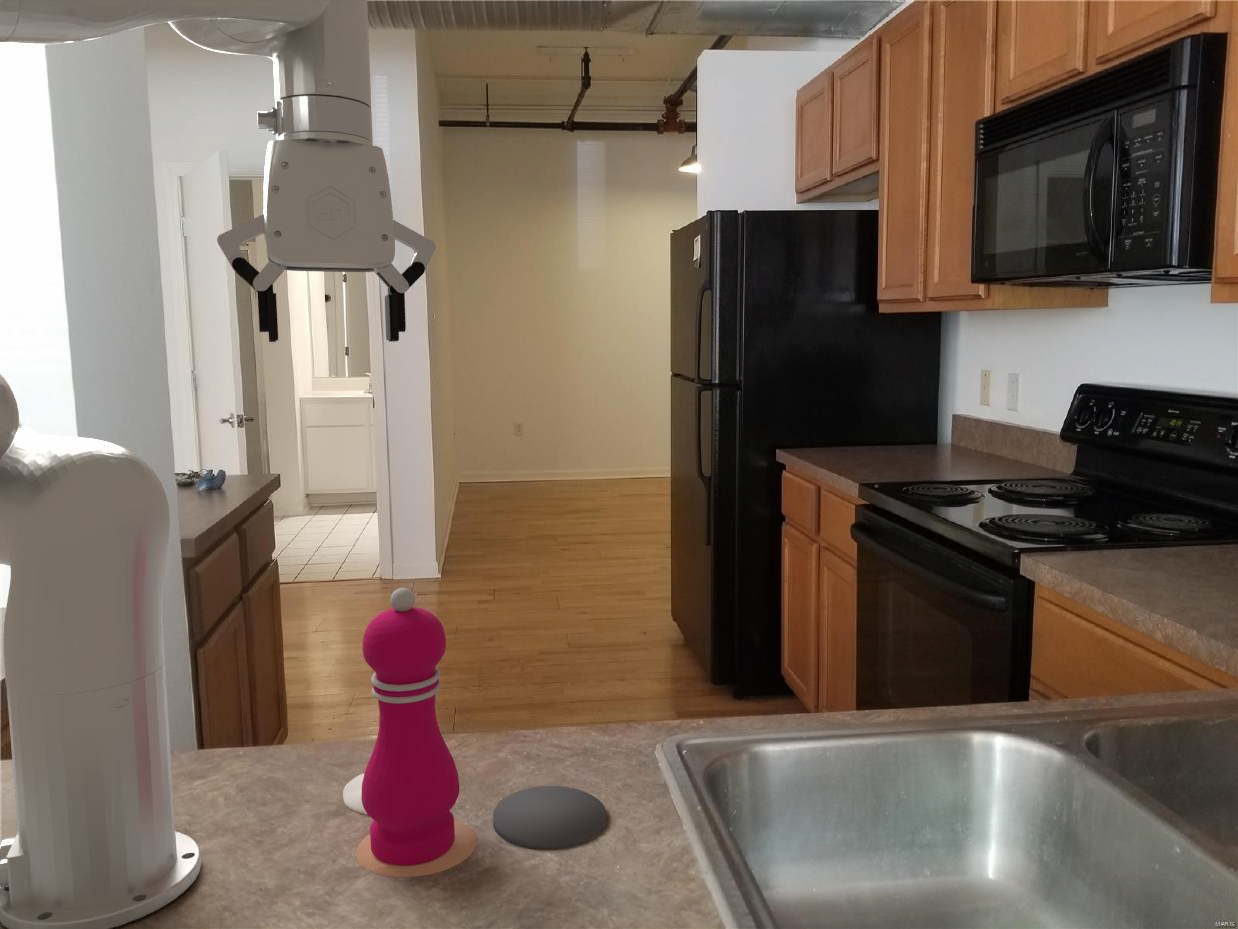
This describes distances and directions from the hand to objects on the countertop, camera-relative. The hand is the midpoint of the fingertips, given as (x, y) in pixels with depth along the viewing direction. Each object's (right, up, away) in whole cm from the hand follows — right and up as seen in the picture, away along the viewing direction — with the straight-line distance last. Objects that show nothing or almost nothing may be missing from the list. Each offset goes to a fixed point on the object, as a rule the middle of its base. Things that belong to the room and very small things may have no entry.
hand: (334, 341), depth 80 cm
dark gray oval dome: (+18, -39, -4) cm, 43 cm away
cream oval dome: (+5, -39, +2) cm, 39 cm away
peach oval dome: (+9, -40, -7) cm, 42 cm away
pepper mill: (+8, -39, -8) cm, 41 cm away
